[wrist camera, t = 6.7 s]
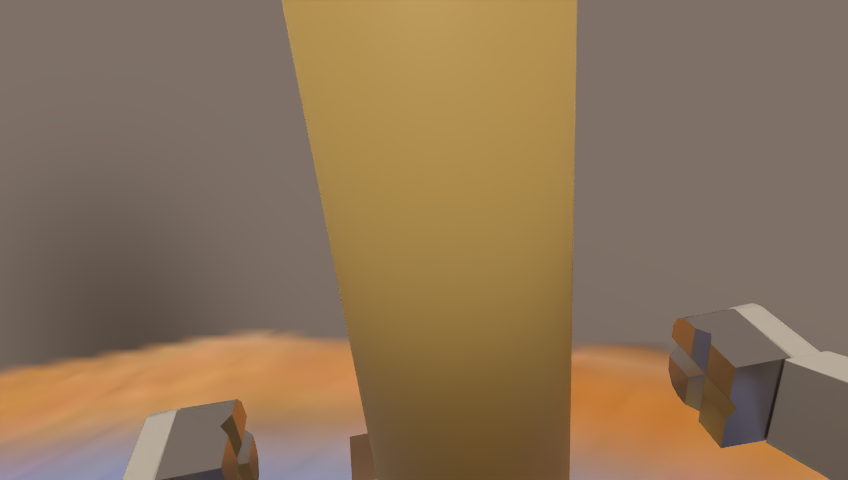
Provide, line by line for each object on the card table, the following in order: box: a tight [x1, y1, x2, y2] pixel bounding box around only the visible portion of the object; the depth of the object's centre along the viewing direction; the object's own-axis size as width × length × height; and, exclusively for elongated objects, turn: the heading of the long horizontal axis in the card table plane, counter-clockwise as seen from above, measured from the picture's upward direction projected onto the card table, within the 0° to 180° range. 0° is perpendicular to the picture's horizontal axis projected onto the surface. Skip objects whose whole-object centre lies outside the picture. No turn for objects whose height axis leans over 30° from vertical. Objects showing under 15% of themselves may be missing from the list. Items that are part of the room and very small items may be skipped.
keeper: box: [282, 0, 577, 480], centre depth 11 cm, size 6×5×16 cm
